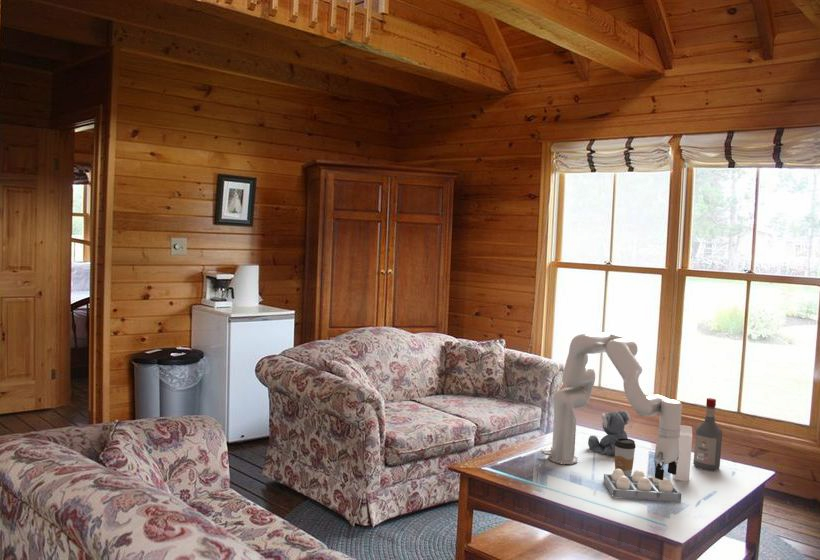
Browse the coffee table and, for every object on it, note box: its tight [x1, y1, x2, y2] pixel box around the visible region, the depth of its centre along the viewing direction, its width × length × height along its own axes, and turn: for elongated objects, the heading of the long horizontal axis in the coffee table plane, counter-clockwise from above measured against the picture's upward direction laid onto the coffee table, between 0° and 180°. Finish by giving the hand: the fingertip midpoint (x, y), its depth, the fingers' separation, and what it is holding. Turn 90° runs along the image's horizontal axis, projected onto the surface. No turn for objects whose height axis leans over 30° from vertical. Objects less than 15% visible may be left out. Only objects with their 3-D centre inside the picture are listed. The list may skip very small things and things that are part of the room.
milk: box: [672, 424, 693, 482], centre depth 285 cm, size 6×6×22 cm
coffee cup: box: [614, 438, 636, 476], centre depth 285 cm, size 8×8×15 cm
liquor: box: [693, 397, 723, 472], centre depth 300 cm, size 9×9×30 cm
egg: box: [659, 477, 674, 492], centre depth 264 cm, size 5×5×6 cm
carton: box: [603, 468, 683, 502], centre depth 269 cm, size 25×17×7 cm
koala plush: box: [587, 409, 631, 457], centre depth 315 cm, size 17×18×20 cm
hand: (665, 476), depth 264 cm, fingers open, 9 cm apart
